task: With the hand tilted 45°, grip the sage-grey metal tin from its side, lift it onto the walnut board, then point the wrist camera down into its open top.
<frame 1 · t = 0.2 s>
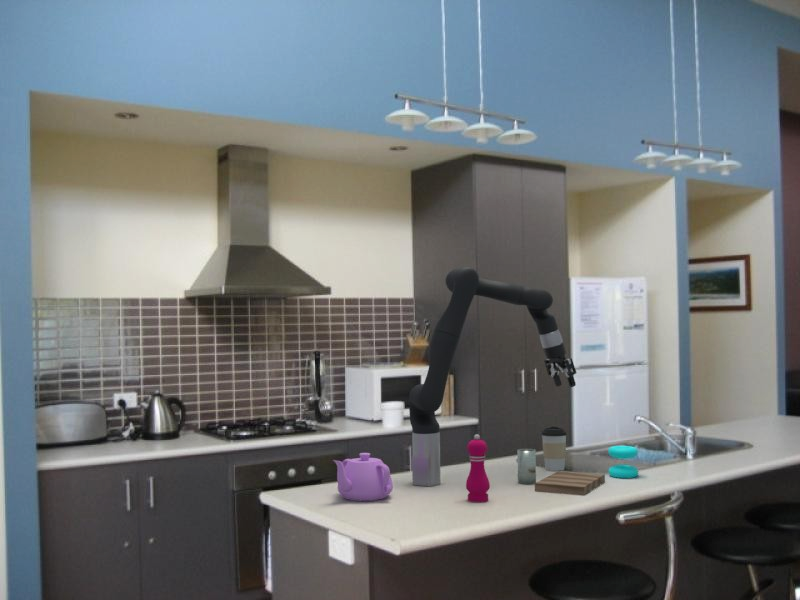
hand: (566, 386, 310), 30 cm above the worktop, tool tilted 20°, fingers open, 8 cm apart
pepper mill: (478, 500, 261), on the worktop
teapot: (360, 499, 266), on the worktop
coffee cup: (554, 469, 313), on the worktop
pair of cyan discs: (623, 476, 297), on the worktop
board: (570, 486, 280), on the worktop
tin: (527, 482, 288), on the worktop
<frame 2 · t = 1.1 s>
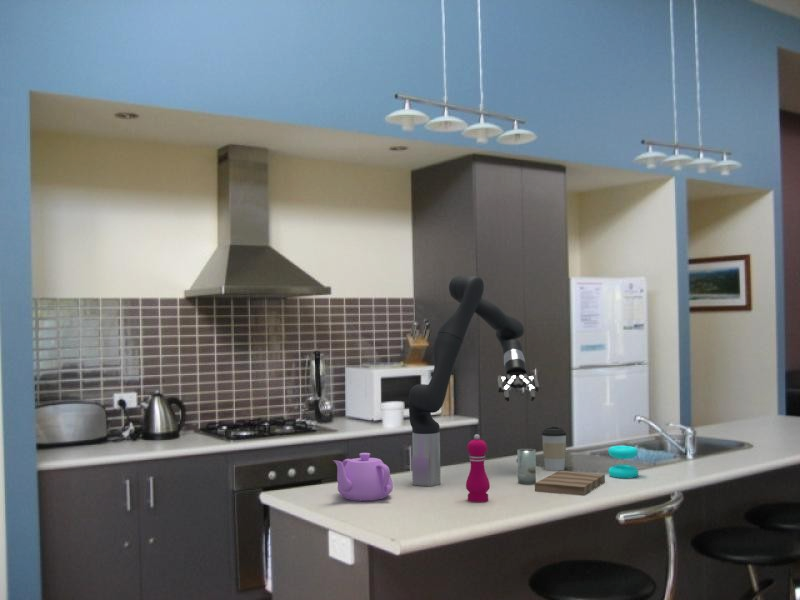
hand: (520, 399, 300), 27 cm above the worktop, tool tilted 45°, fingers open, 8 cm apart
nothing on the worktop moved.
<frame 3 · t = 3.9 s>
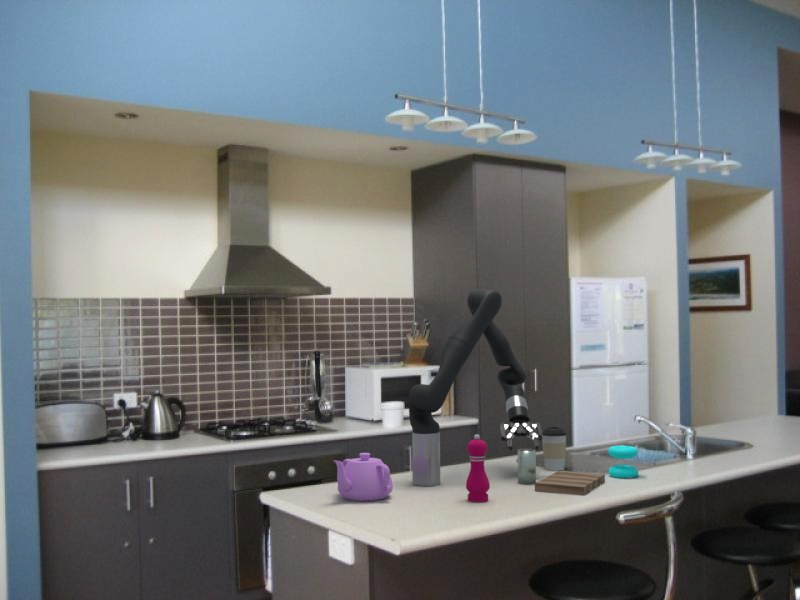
hand: (523, 449, 293), 11 cm above the worktop, tool tilted 45°, fingers open, 8 cm apart
nothing on the worktop moved.
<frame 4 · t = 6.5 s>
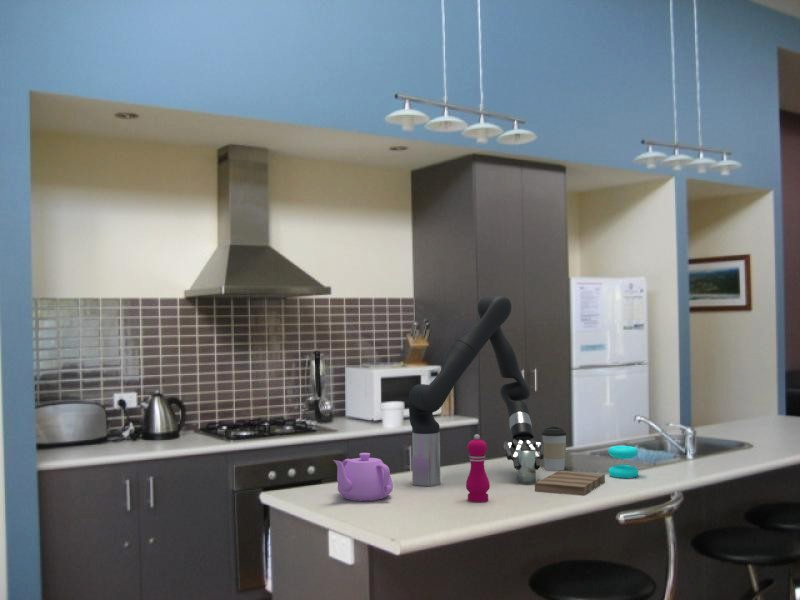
hand: (527, 468, 286), 5 cm above the worktop, tool tilted 45°, fingers closed on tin, 6 cm apart
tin: (527, 482, 287), on the worktop, touching gripper
everything else where it was.
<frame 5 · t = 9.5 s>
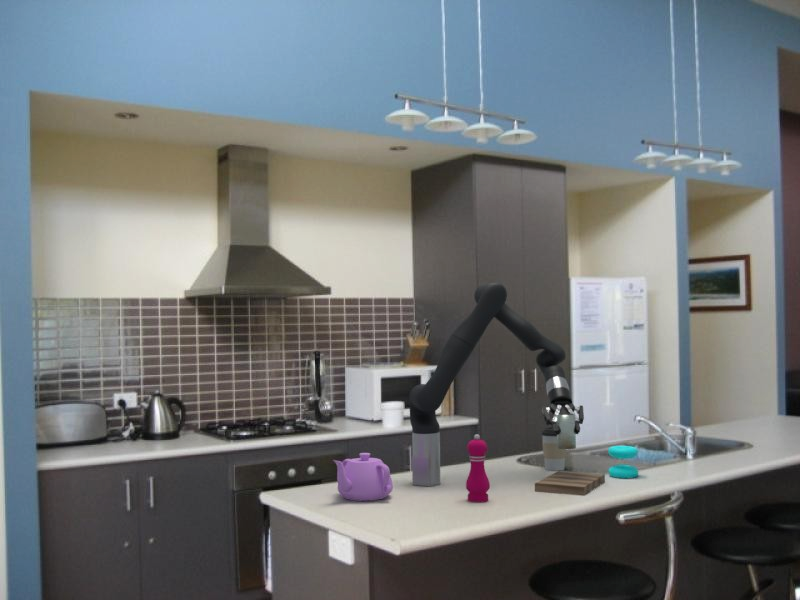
hand: (567, 432, 280), 18 cm above the worktop, tool tilted 45°, fingers closed on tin, 6 cm apart
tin: (566, 447, 282), point 12 cm above the worktop, touching gripper
everything else where it was.
when the fingers open (9 cm above the worktop, at t = 12.6 s): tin drops 1 cm, resting on board.
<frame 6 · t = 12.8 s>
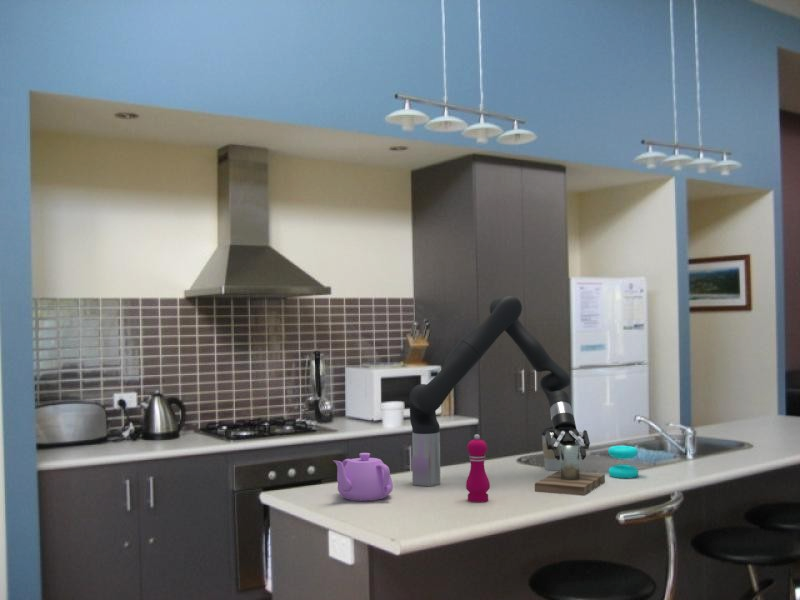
hand: (571, 458, 279), 9 cm above the worktop, tool tilted 45°, fingers open, 7 cm apart
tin: (570, 478, 281), point 3 cm above the worktop, touching board
everything else where it was.
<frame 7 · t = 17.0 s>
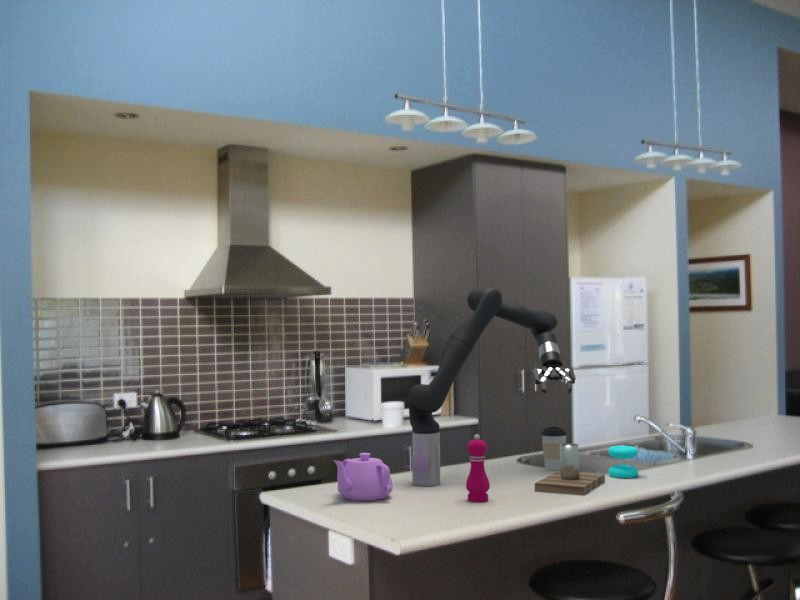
hand: (557, 391, 299), 29 cm above the worktop, tool tilted 45°, fingers open, 8 cm apart
nothing on the worktop moved.
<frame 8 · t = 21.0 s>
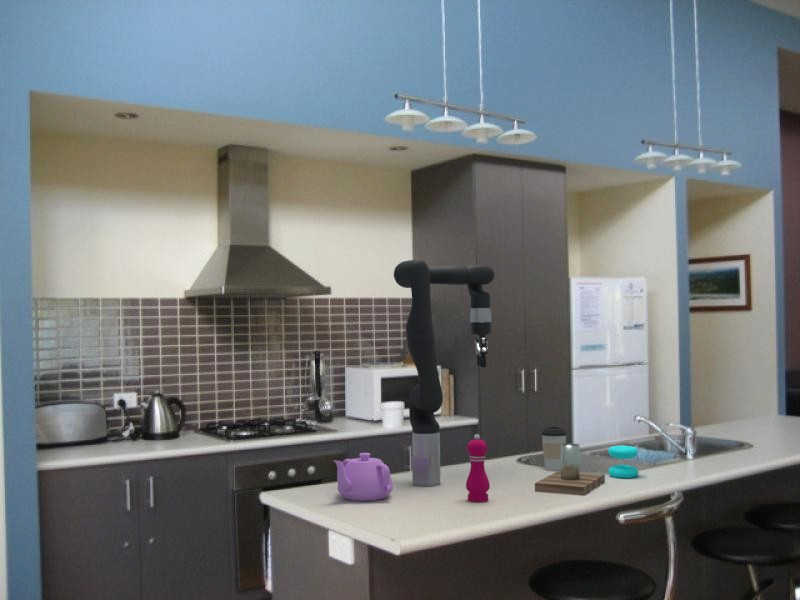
hand: (481, 366, 307), 38 cm above the worktop, tool pointing down, fingers open, 8 cm apart
nothing on the worktop moved.
at the end: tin inside the target area on the board (0.1 cm from its centre), point 2.6 cm above the board's base; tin tilted 1°; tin touching board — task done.
